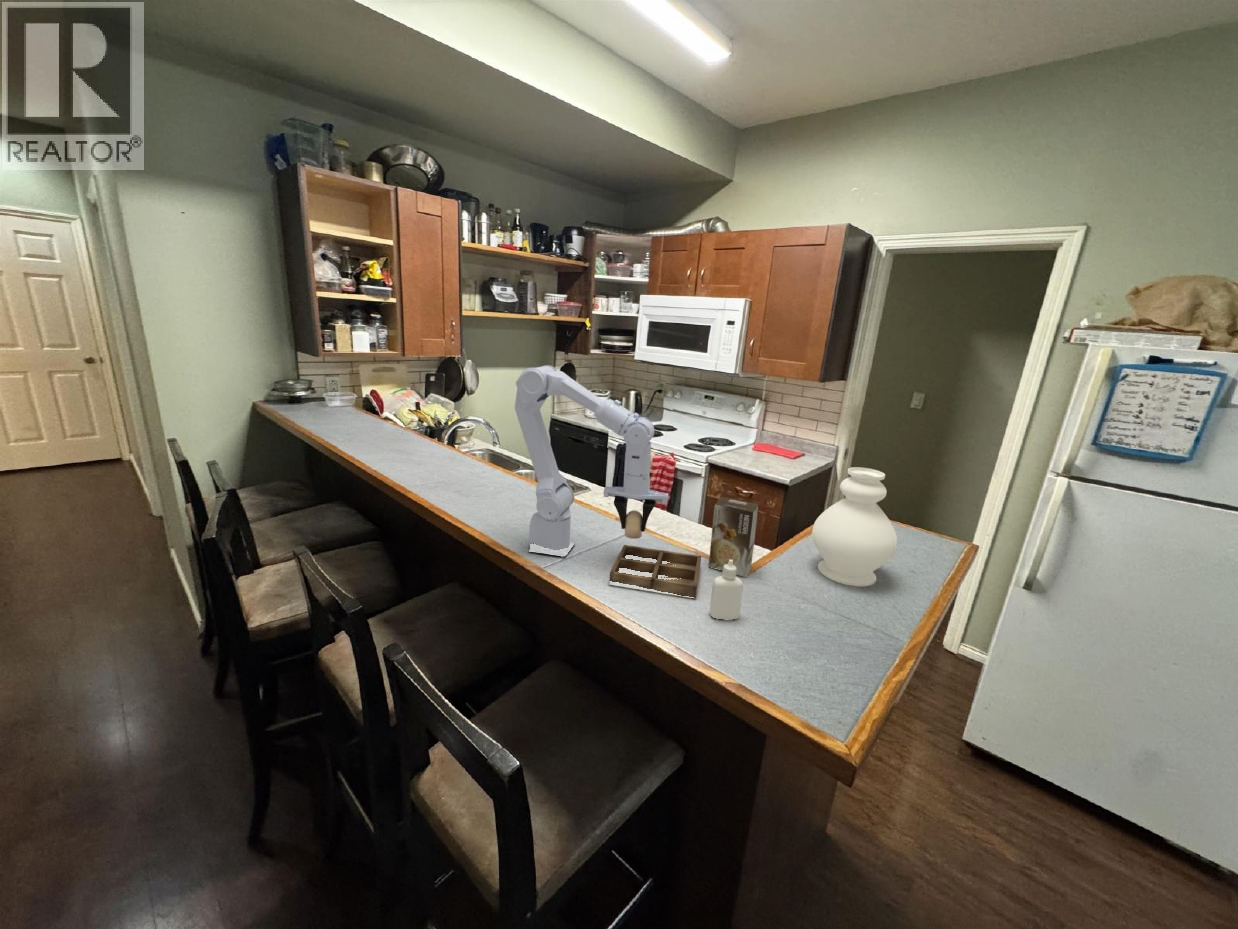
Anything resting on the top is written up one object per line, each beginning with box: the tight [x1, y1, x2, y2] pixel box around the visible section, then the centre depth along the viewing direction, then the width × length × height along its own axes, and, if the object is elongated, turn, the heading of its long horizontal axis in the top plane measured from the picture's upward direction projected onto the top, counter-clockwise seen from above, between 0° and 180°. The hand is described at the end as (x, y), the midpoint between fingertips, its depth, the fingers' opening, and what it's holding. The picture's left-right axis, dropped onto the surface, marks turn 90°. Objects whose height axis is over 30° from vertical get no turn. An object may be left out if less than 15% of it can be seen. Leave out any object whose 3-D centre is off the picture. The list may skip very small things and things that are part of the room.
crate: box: [609, 544, 702, 599], centre depth 108 cm, size 18×14×3 cm
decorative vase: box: [811, 466, 898, 588], centre depth 112 cm, size 18×18×25 cm
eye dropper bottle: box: [709, 560, 744, 621], centre depth 93 cm, size 4×6×12 cm
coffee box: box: [708, 496, 760, 578], centre depth 112 cm, size 9×6×16 cm
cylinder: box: [624, 509, 643, 540], centre depth 112 cm, size 4×4×6 cm
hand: (633, 528), depth 113 cm, fingers closed on cylinder, 4 cm apart
